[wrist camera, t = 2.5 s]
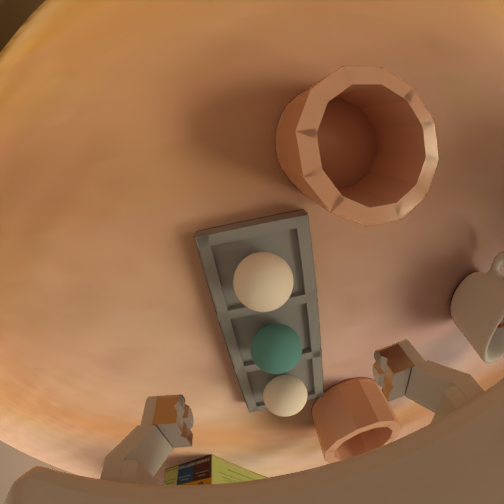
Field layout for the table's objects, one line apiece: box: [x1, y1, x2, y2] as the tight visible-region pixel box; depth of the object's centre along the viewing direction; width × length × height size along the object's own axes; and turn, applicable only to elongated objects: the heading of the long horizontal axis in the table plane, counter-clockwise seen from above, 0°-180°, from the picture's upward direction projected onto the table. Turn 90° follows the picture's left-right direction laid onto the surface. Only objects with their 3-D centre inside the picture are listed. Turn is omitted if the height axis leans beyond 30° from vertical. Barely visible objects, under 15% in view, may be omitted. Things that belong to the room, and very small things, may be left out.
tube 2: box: [311, 378, 401, 463], centre depth 26 cm, size 9×9×7 cm
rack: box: [195, 210, 324, 412], centre depth 23 cm, size 19×8×2 cm, turn 11°
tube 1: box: [275, 66, 438, 227], centre depth 16 cm, size 9×9×7 cm
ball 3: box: [263, 375, 308, 417], centre depth 24 cm, size 4×4×4 cm
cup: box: [450, 252, 504, 363], centre depth 21 cm, size 11×8×8 cm
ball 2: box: [251, 324, 302, 374], centre depth 21 cm, size 4×4×4 cm
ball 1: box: [233, 252, 294, 312], centre depth 19 cm, size 4×4×4 cm
